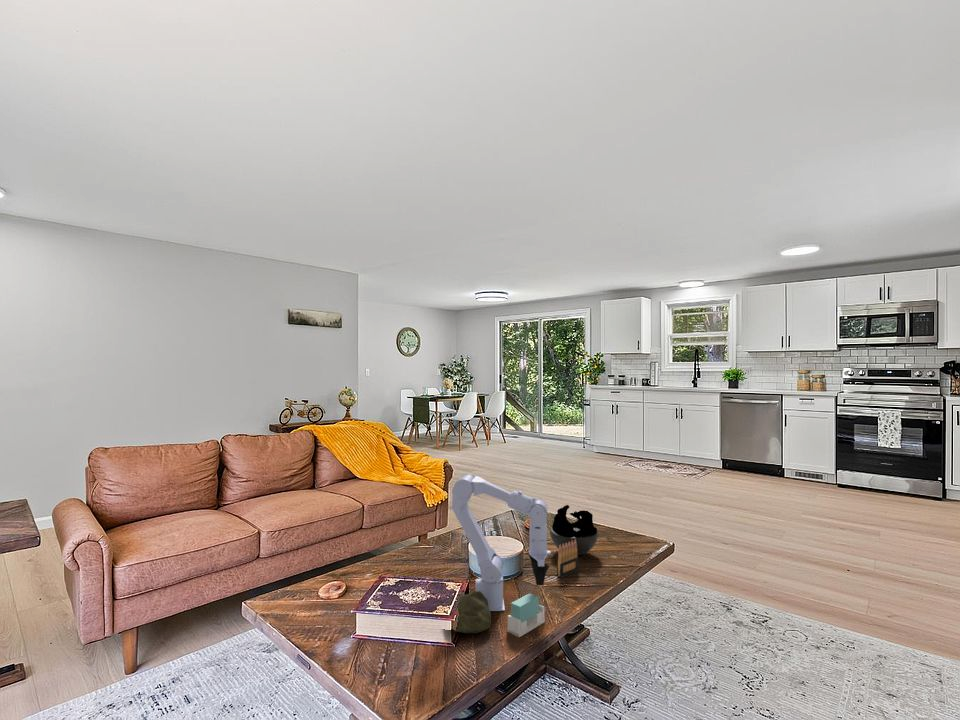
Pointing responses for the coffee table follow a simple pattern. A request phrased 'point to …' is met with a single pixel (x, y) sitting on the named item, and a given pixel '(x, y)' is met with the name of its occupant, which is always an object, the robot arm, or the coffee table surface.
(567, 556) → the ammunition clip
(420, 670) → the coffee table surface
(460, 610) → the decorative rock
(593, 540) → the coal bowl
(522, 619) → the teal block
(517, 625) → the stand
